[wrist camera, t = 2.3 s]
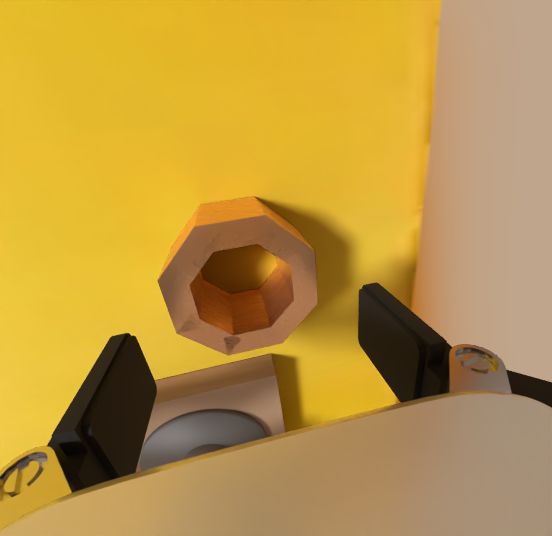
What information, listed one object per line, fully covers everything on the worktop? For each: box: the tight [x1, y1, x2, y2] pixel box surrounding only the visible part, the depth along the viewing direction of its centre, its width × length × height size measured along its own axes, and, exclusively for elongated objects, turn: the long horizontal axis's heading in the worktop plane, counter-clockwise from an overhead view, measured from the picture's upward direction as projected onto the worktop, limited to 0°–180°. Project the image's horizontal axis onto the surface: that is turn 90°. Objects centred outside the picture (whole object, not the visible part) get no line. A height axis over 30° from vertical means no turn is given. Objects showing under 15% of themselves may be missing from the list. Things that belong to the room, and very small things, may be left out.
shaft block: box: [135, 354, 285, 473], centre depth 17 cm, size 12×12×10 cm
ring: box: [158, 196, 318, 355], centre depth 14 cm, size 7×7×4 cm
